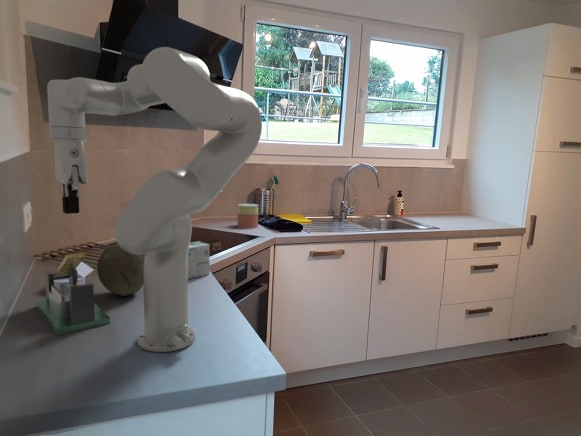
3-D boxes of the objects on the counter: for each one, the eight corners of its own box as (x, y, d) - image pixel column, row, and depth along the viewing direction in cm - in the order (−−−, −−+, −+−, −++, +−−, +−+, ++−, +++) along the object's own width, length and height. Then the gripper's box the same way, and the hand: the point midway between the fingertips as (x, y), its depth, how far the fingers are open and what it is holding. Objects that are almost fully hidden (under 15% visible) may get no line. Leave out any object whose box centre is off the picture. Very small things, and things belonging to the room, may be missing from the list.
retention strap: (85, 257, 108) (84, 251, 108) (67, 260, 105) (66, 253, 106) (69, 278, 122) (68, 272, 122) (53, 280, 119) (52, 275, 120)
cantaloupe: (157, 289, 136) (156, 241, 134) (132, 305, 123) (131, 252, 120) (115, 284, 139) (113, 237, 137) (86, 300, 125) (84, 248, 123)
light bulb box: (199, 270, 158) (199, 240, 156) (210, 274, 153) (210, 244, 152) (172, 275, 151) (172, 244, 149) (182, 280, 146) (182, 248, 144)
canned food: (262, 227, 244) (262, 205, 242) (247, 229, 236) (247, 207, 234) (248, 224, 252) (248, 203, 250) (232, 226, 243) (233, 204, 241)
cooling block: (110, 323, 110) (108, 282, 109) (56, 335, 103) (54, 291, 101) (83, 298, 127) (82, 262, 125) (36, 306, 119) (34, 268, 117)
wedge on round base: (65, 279, 143) (46, 293, 130) (64, 259, 141) (45, 270, 129) (94, 280, 143) (78, 293, 131) (93, 259, 142) (77, 271, 129)
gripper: (94, 136, 101) (97, 216, 104) (76, 135, 112) (79, 207, 115) (58, 134, 96) (62, 218, 99) (42, 134, 108) (46, 209, 111)
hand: (71, 212), depth 107 cm, fingers closed
